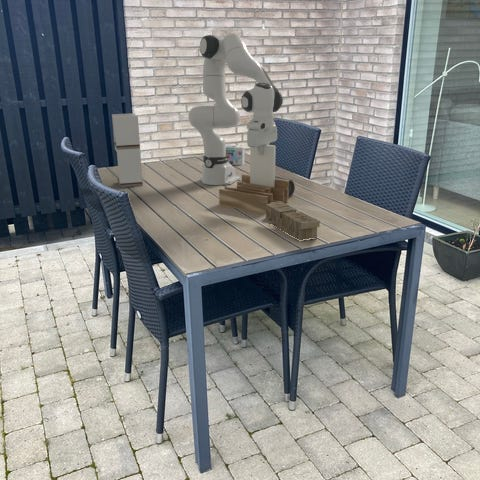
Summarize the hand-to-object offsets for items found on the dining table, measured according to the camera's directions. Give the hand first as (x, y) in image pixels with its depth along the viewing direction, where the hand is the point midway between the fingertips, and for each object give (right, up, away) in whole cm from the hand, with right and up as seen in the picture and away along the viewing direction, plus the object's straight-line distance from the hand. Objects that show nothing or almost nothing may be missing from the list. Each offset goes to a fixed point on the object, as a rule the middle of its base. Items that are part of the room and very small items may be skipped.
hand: (262, 154), depth 229 cm
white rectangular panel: (0, -15, +6) cm, 16 cm away
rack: (-4, -23, +2) cm, 23 cm away
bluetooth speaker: (+4, -17, +19) cm, 26 cm away
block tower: (+9, -34, -27) cm, 44 cm away
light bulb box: (-13, +8, +85) cm, 87 cm away
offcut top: (-4, -17, 0) cm, 17 cm away
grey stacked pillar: (-67, -9, +40) cm, 79 cm away
